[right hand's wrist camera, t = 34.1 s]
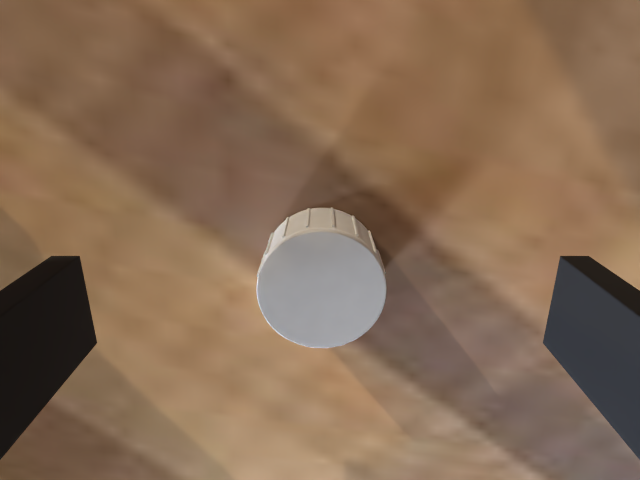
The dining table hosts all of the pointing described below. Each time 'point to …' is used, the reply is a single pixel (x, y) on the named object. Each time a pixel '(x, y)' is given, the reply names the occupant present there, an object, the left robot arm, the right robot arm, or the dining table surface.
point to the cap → (321, 279)
